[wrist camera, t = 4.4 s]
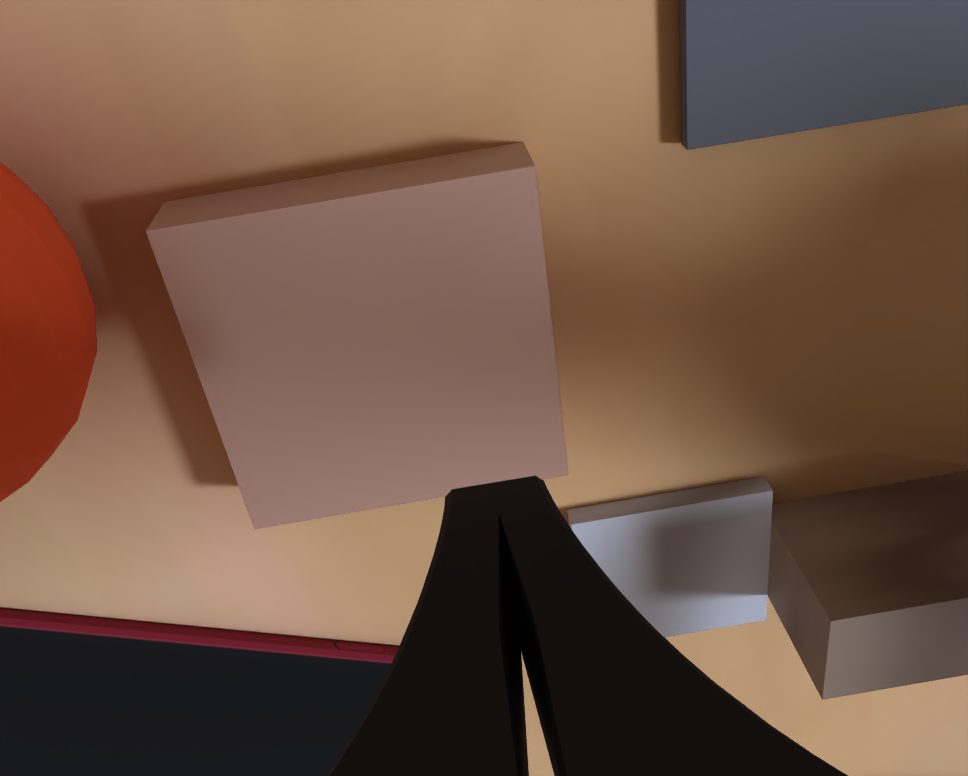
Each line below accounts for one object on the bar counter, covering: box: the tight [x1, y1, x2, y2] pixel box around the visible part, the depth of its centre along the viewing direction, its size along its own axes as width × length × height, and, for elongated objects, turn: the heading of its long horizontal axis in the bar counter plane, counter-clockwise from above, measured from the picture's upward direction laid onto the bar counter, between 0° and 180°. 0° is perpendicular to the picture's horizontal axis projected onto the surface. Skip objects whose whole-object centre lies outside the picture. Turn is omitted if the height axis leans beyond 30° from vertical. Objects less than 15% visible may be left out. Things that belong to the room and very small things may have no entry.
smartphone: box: [0, 608, 399, 776], centre depth 24 cm, size 7×1×15 cm
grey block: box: [567, 471, 968, 700], centre depth 21 cm, size 11×4×4 cm, turn 98°
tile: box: [146, 142, 569, 529], centre depth 18 cm, size 2×7×7 cm
